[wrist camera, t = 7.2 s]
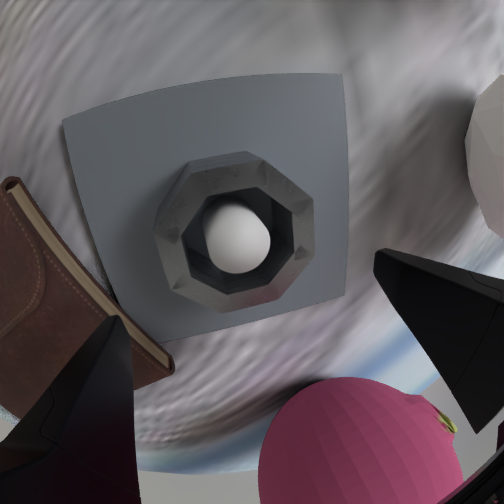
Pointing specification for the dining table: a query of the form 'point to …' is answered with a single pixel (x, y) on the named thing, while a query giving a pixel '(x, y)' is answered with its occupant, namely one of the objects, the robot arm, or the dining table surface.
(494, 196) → the geodesic sphere
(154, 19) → the dining table surface
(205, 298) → the ring
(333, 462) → the pink dragon fruit
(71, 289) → the notebook
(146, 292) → the gray square plate
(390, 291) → the robot arm
